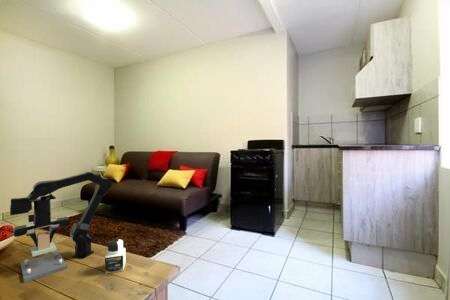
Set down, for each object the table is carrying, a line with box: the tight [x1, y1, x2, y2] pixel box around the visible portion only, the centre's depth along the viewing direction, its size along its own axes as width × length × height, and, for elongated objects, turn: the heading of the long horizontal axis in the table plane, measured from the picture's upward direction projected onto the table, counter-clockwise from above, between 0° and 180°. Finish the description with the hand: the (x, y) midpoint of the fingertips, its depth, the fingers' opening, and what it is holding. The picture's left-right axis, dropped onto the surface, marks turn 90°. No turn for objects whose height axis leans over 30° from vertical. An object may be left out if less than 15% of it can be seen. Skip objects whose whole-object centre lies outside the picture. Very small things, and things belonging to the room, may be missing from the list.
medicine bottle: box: [104, 238, 127, 274], centre depth 97 cm, size 7×7×12 cm
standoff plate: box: [20, 250, 68, 283], centre depth 98 cm, size 18×14×3 cm
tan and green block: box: [30, 231, 57, 257], centre depth 98 cm, size 8×8×7 cm
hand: (43, 245), depth 98 cm, fingers closed on tan and green block, 4 cm apart
